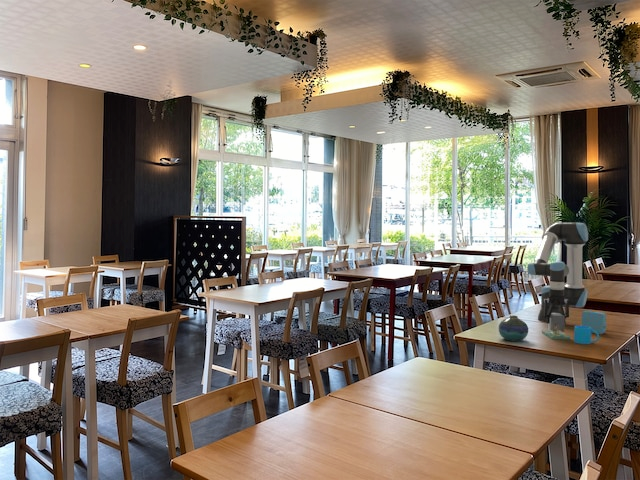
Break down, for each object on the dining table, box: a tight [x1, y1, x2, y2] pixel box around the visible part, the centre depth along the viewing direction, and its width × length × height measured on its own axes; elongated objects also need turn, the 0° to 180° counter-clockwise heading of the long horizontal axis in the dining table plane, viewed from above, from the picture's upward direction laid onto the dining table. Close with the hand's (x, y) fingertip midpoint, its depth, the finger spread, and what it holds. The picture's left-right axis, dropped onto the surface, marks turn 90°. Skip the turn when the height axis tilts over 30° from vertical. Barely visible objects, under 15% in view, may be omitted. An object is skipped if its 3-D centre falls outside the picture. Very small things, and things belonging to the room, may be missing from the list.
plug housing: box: [547, 313, 566, 333], centre depth 282 cm, size 9×6×9 cm, turn 174°
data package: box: [580, 310, 607, 335], centre depth 293 cm, size 12×4×12 cm, turn 41°
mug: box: [573, 325, 600, 345], centre depth 268 cm, size 12×8×8 cm
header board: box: [541, 327, 571, 340], centre depth 283 cm, size 16×10×4 cm, turn 174°
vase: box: [497, 314, 529, 342], centre depth 273 cm, size 15×15×13 cm
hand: (555, 329), depth 283 cm, fingers closed on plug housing, 6 cm apart
